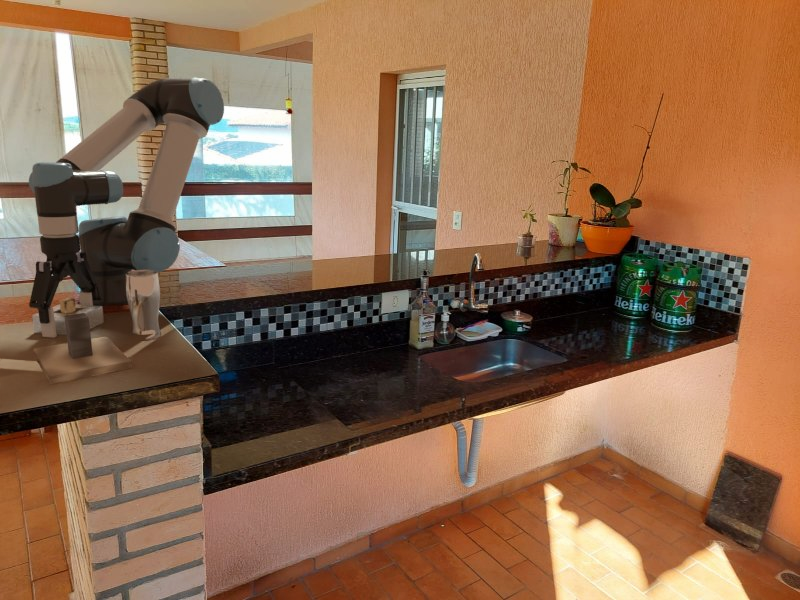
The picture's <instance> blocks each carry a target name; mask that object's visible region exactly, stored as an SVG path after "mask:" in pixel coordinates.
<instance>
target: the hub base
mask: <svg viewBox="0 0 800 600" xmlns="http://www.w3.org/2000/svg"><path fill="white" fill-rule="evenodd" d="M64 317H65V325H66V334H67V335H66V341H67V342H64V343H58V344H52V345H46V346H40V347H34V348H32V350H33V352H34V353H35V354H36V356H37V359H38V360H36V362H37V363H38V365H39V367H40V368H41V370H42V372H43V373H44V375H45V377H46V379H47V381H48V382H49V384H50V385H54V384H59V383H64V382H69V381H73V380H79V379H85V378H87V377H88V378H89V377H93V376H99V375H103V374H108V373H115V372H118V371H124V370H128V369H132V360H131V359H130V358H129V357H127V355H125V353H124V352H123V351H122V350H121V349H119V348H118V346H117V345H116V344H115V343H114V342H113V341H112V340H111V339H110V338H109V337H108V336H101V337H95V338H92V335H91V329H90V324H89V317H88V316H87V315H86V314H85V313H81V314H73V315H66V316H64Z"/></svg>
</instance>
